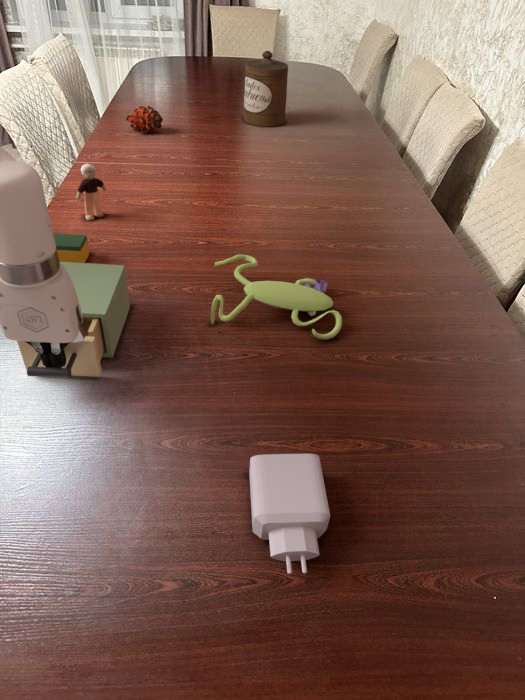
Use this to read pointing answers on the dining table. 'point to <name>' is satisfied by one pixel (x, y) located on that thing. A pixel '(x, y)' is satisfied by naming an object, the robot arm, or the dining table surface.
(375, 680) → the dining table surface
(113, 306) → the cabinet
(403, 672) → the dining table surface
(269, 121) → the wooden container
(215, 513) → the dining table surface
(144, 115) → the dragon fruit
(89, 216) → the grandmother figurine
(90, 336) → the drawer
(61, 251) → the sponge
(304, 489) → the charger
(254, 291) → the figurine
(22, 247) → the robot arm
